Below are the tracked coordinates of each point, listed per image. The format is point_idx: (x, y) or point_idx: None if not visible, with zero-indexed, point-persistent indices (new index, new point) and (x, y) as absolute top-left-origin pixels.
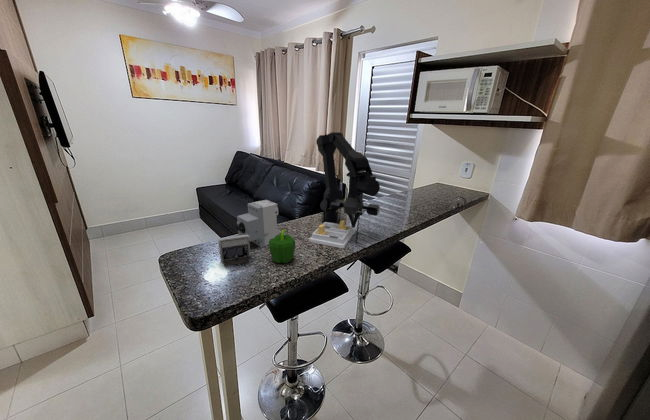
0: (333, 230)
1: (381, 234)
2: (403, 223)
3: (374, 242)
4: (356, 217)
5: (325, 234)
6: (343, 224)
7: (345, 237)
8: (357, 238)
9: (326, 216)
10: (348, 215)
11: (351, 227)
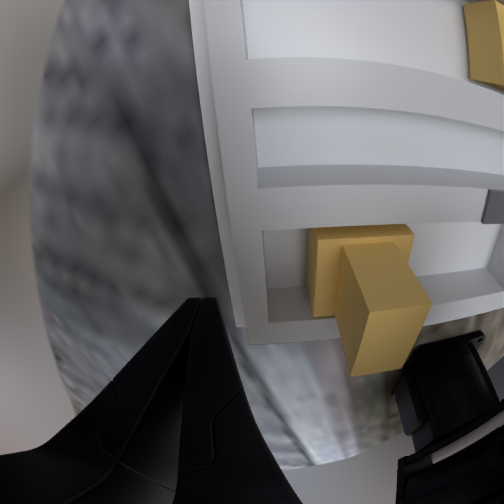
0: (442, 179)
1: (81, 336)
2: None
3: (33, 212)
4: (81, 443)
5: (481, 57)
6: (358, 290)
7: (208, 10)
8: (159, 210)
9: (476, 373)
10: (280, 492)
11: (253, 319)
